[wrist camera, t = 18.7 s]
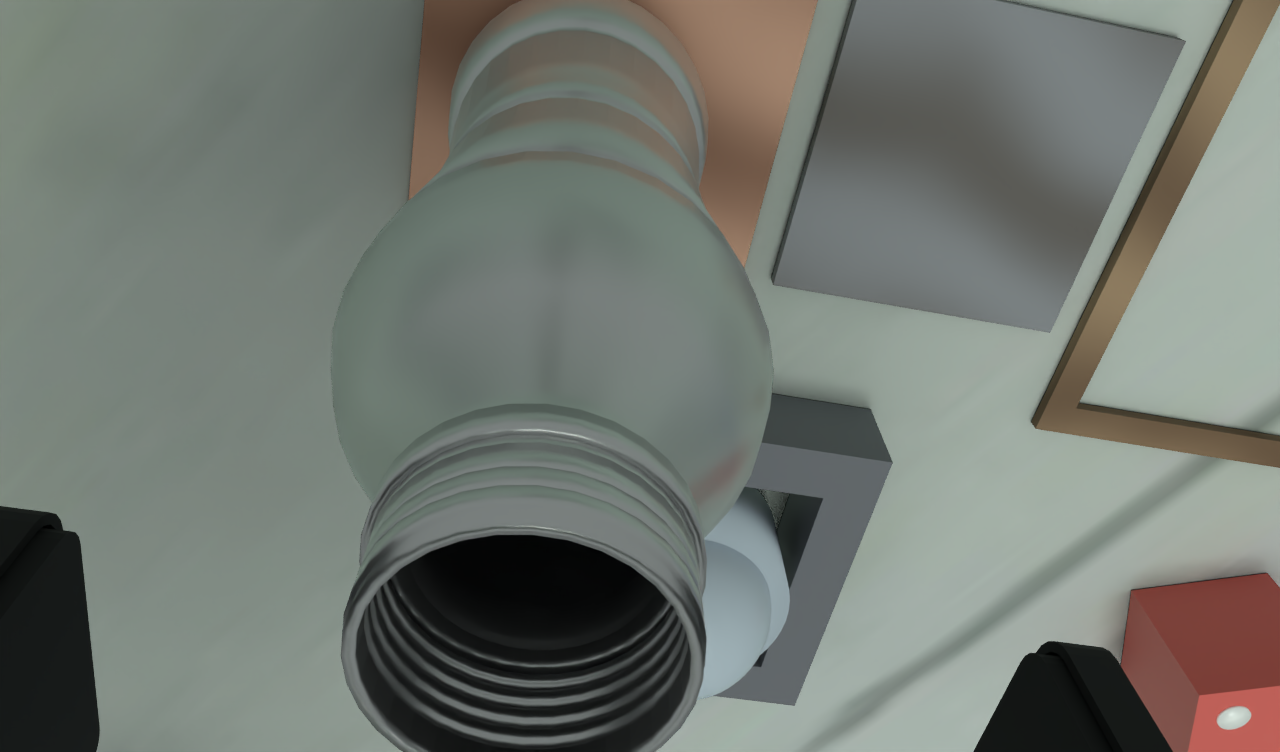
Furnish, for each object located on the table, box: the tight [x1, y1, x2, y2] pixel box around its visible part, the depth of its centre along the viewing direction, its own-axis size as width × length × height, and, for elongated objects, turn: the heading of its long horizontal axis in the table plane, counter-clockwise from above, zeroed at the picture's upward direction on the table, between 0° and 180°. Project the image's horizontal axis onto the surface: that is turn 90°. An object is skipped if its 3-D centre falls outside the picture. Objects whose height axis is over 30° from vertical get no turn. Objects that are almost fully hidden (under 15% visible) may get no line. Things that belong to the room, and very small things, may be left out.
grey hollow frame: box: [714, 394, 893, 706], centre depth 33 cm, size 11×11×3 cm
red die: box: [1121, 573, 1280, 752], centre depth 36 cm, size 5×5×5 cm
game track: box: [409, 0, 1280, 468], centre depth 28 cm, size 16×37×1 cm, turn 79°
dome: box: [697, 487, 790, 700], centre depth 31 cm, size 7×7×6 cm
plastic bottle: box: [331, 0, 774, 752], centre depth 18 cm, size 6×7×20 cm
